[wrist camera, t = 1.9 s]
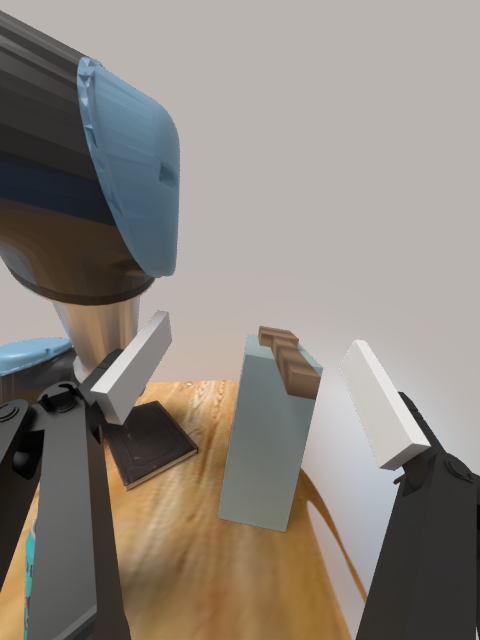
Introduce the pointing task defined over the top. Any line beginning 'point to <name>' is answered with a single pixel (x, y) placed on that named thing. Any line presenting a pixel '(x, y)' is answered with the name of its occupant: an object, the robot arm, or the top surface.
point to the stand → (264, 443)
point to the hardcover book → (146, 443)
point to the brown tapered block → (290, 362)
